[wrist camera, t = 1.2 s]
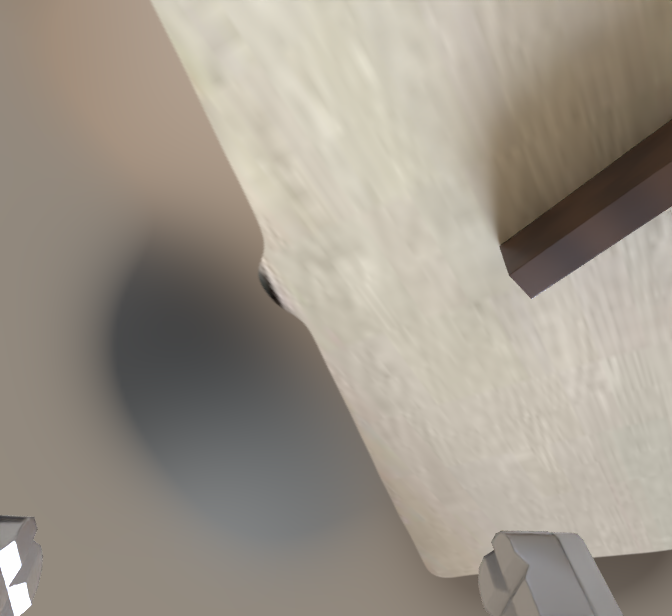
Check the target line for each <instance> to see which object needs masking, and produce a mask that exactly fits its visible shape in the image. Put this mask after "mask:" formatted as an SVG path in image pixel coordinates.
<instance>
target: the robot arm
mask: <svg viewBox="0 0 672 616" xmlns="http://www.w3.org/2000/svg"><path fill="white" fill-rule="evenodd" d="M36 532H37V526H36V522H35V519H34V517H25V516H2V515H0V616H19V615H20V614H21V613H23V612H24V611H25V610H26V609H27V608H28V607H29V606H30V605H31V603H32V601H33V598H34V595H35V593H36V590H37V588H38V584H39V579H40V575H41V571H42V558H43V555H42V549H41V546H40V545H39V544H38V543H36V542H35V541H34V540H33V539H34V536H35V534H36ZM491 543H492V546H493V548H494V550H493V551H492V552H490V553H489V554H487V555H486V556H484V558H483V560H482V562H481V564H480V567H479V578H478V584H479V591H480V596H481V600H482V603H483V606H484V609H485V610H486V611H487V612H488V613H489V614H490V615H491V616H623V614H622V612H621V610H620V608H619V606H618V605H617V603H616V601H615V599H614V597H613V596H612V593H611V591H610V589H609V588H608V586H607V584H606V582H605V580H604V578H603V576H602V575H601V572H600V571H599V569H598V567H597V565H596V563H595V561H594V559H593V557H592V555H591V554H590V552H589V550H588V548H587V546H586V544H585V542H584V540H583V539H582V538H581V537H580V536H579V535H578V534H576V533H564V532H548V531H500V532H498V533H496V534H495V536H494V538H493V540H492V542H491Z"/></svg>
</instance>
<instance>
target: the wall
mask: <svg viewBox="0 0 672 616" xmlns="http://www.w3.org/2000/svg"><path fill="white" fill-rule="evenodd" d="M671 206H672V120H670V121H669V122H668V123H666V124H665V125H664V126H662V127H661V128H659V129H658V130H657V131H655V132H654V133H653V134H651V135H650V136H649V137H647V138H646V139H645V140H643V141H642V142H641V143H639V144H638V145H636V146H635V147H634V148H632V149H631V150H630V151H628V152H627V153H626V154H624V155H623V156H622V157H620V158H619V159H617V160H616V161H615V162H613V163H612V164H611V165H609V166H608V167H607V168H605V169H604V170H603V171H601V172H600V173H598V174H597V175H596V176H594V177H593V178H592V179H590V180H589V181H588V182H586V183H585V184H584V185H582V186H581V187H579V188H578V189H577V190H575V191H574V192H573V193H571V194H570V195H569V196H567V197H566V198H565V199H563V200H562V201H561V202H559V203H558V204H556V205H555V206H554V207H552V208H551V209H550V210H548V211H547V212H546V213H544V214H543V215H542V216H540V217H539V218H537V219H536V220H535V221H533V222H532V223H531V224H529V225H528V226H527V227H525V228H524V229H523V230H521V231H520V232H518V233H517V234H516V235H514V236H513V237H512V238H510V239H509V240H508V241H506V242H505V243H504V244H502V245H501V246H500V250H501V253H502V256H503V259H504V262H505V265H506V268H507V271H508V274H509V276H510V277H511V278H512V279H513V280H514V281H515V282H516V283H517V284H518V285H519V286H520V287H521V288H522V289H523V291H524V292H525V293H526V294H527V295H528V296H529V297H530V298H531V299H532V298H534V297H535V296H537V295H538V294H540V293H541V292H543V291H544V290H546V289H547V288H549V287H550V286H552V285H553V284H555V283H556V282H558V281H559V280H561V279H562V278H564V277H565V276H567V275H569V274H570V273H572V272H573V271H575V270H576V269H578V268H579V267H581V266H582V265H584V264H585V263H587V262H588V261H590V260H591V259H593V258H594V257H596V256H597V255H599V254H600V253H602V252H603V251H605V250H606V249H608V248H609V247H611V246H612V245H614V244H615V243H617V242H618V241H620V240H621V239H623V238H624V237H626V236H627V235H629V234H630V233H632V232H633V231H635V230H636V229H638V228H639V227H641V226H642V225H644V224H646V223H647V222H649V221H650V220H652V219H653V218H655V217H656V216H658V215H659V214H661V213H662V212H664V211H665V210H667V209H668V208H670V207H671Z"/></svg>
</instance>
